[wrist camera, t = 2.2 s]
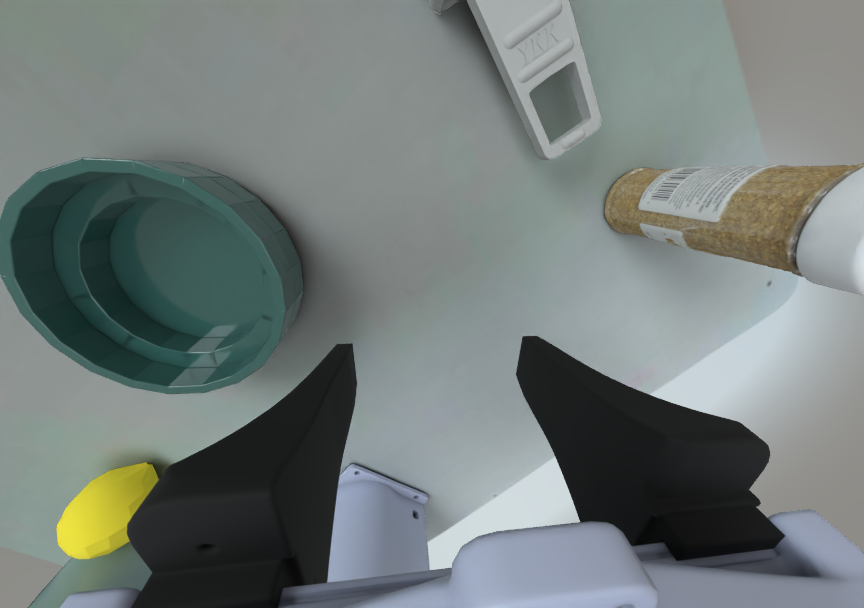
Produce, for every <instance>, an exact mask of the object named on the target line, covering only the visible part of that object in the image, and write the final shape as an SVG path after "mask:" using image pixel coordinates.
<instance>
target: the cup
mask: <svg viewBox="0 0 864 608" xmlns="http://www.w3.org/2000/svg"><path fill="white" fill-rule="evenodd" d="M151 574H152V572H151V570H150V569H149V568H148V566H147V565H146V564H145V562H144V561H143V560H142V558H141V557H140V556H139V554H138V553H137V552H136V550H135V549H134V548H133V546H132V544H131V542H128V543H126V544H124V545H123V546H121V547H119V548H118V549H116V550H114V551H113V552H111V553H109V554H106V555H103V556H99V557H95V558H91V559H75V558H73V557H72V558H71V559H70V560H69V561H68V563H67V564H66V565H65V566H64V567H63V568H62V569H61V570H60V571H59V572H58V574H57V575H56V576H55V577H54V578H53V579H52V580H51V582H50V583H49V584H48V585H47V586H46V587H45V588H44V589H43V590H42V592H41V593H40V594H39V595H38V596H37V597H36V598H35V600H34V601H33V602H32V603H31V604H30V606H29V607H28V608H60V607H61V605H62V604H63V603H64V601H65V600H66V599H67V597H68V596H69V595H71V594H73V593H76V592H84V591H93V590H102V589H111V588H120V587H131V588H136V589H139V590H141V591H142V589H143V588H144V586H145V584H146V583H147V581H148V579H149V577H150V576H151Z"/></svg>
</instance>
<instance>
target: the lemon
mask: <svg viewBox="0 0 864 608" xmlns="http://www.w3.org/2000/svg"><path fill="white" fill-rule="evenodd" d="M158 480H159V478H158V476H157V474H156V471H155V469H154V467H153V465H152V463H150V462H145V463H140V464H135V465H130V466H126V467H121V468H117V469H112V470H110V471H108V472H106V473H104V474H103V475H101V476H99V477H97V478H96V479H94V480H92V481H91V482H90V483H89V484H88V485H87V486H86V487H85V488H84V489H83V490H82V491H81V492H80V493H79V494H78V495H77V496H76V497H75V498H74V499H73V501H72V502H71V503H70V504H69V505H68V506H67V507H66V509H65V511H64V513H63V515H62V517H61V519H60V521H59V523H58V525H57V527H56V528H57V538H58V545H59V546H60V547H61V548H62V550H63V551H64V552H65V553H66V554H67V555H69V556H71V557H73V558H75V559H91V558H95V557H99V556H103V555H106V554H109V553H111V552H113V551H114V550H116V549H118V548H119V547H121V546H123V545H124V544H126V543H128V542H130V540H129V538H128V536H127V524H128V522H129V521H130V519H131V518H132V516H133V515H134V513H135V512H136V511H137V509H138V508H139V506H140V505H141V504H142V502H143V501H144V500H145V498H146V497H147V495H148V494H149V493H150V491H151V490H152V488H153V487H154V486H155V484H156V483H157V482H158Z"/></svg>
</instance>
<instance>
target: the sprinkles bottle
mask: <svg viewBox="0 0 864 608" xmlns="http://www.w3.org/2000/svg"><path fill="white" fill-rule="evenodd" d="M605 216H606V219H607V221H608V223H609V224H610V226H611V227H612V228H613V229H614V230H616V231H618V232H620V233H624V234H635V235H639V236H644V237H648V238H650V239H653V240H656V241H660V242H664V243H668V244H673V245H677V246H681V247H685V248H689V249H693V250H697V251H702V252H706V253H710V254H714V255H719V256H725V257H733V258H736V259H740V260H744V261H748V262H753V263H756V264H760V265H766V266H768V267H772V268H777V269H782V270H784V271H790V272H792V273H793V274H796V275H799V276H801V277H805V278H806V279H807V280H808V281H810V282H813V283H815V284H819V285H823V286H827V287H830V288H834V289H838V290H842V291H847V292H851V293H855V294H860V295H864V164H858V165H852V166H846V165H839V166H794V167H793V166H787V165H758V166H716V167H685V168H676V169H660V170H655V169H652V168H637V169H634V170H631V171H630V172H628V173H626V174H624V175H623V176H622V177H621V178H619V179H618V181H617V182H616V183H615V184H614V185H613V187H612V188H611V190H610V192H609V194H608V196H607V199H606V204H605Z"/></svg>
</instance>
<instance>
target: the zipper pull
mask: <svg viewBox="0 0 864 608" xmlns="http://www.w3.org/2000/svg"><path fill="white" fill-rule="evenodd" d="M458 1H460V0H428V2H429V6H430V8H431V10H432V11H433V12H434V13H435V14H437V15H440V14H442V13H443V12H444V11H446V10H447V9H449V8H450V7H451V6H453V5H454V4H456V3H457V2H458ZM467 2H468V4H469V6H470V9H471V11H472V13H473V15H474V17H475V20H476V22H477V24H478V26H479V28H480V30H481V33H482V35H483V37H484V39H485V41H486V44H487V46H488V48H489V50H490V52H491V54H492V57H493V59H494V61H495V63H496V65H497V68H498V70H499V72H500V74H501V76H502V78H503V81H504V83H505V85H506V87H507V89H508V92H509V94H510V96H511V98H512V100H513V102H514V105H515V107H516V109H517V111H518V113H519V116H520V118H521V120H522V122H523V124H524V126H525V129H526V131H527V133H528V135H529V137H530V140H531V142H532V144H533V146H534V148H535V150H536V153H537V155H538V157H539V158H541V159H543V160H547V159H554V158H556V157H558V156H560V155H561V154H563V153H564V152H566V151H567V150H569V149H570V148H572V147H573V146H575V145H576V144H578V143H579V142H581V141H582V140H584V139H585V138H587V137H588V136H590V135H591V134H593V133H594V132H596V131H597V130H598V129H599V127H600V124H601V116H600V112H599V108H598V105H597V101H596V97H595V94H594V90H593V86H592V83H591V79H590V75H589V72H588V68H587V64H586V61H585V57H584V53H583V50H582V46H581V42H580V39H579V35H578V32H577V28H576V24H575V21H574V17H573V13H572V10H571V6H570V2H569V0H467ZM564 67H566V69H567V72H568V75H569V78H570V82H571V85H572V88H573V92H574V95H575V98H576V102H577V105H578V108H579V112H580V115H581V118H582V121H581V122H580V123H579V124H578V125H577V126H575V127H574V128H572V129H571V130H569V131H568V132H566V133H565V134H563V135H562V136H560V137H559V138H557V139H556V140H554V141H553V142H551V143H549V140H548V138H547V136H546V133H545V131H544V129H543V126H542V124H541V122H540V119H539V117H538V115H537V112H536V110H535V108H534V106H533V103H532V101H531V99H530V96H529V93H530V91H531V90H532V89H533V88H535V87H536V86H537V85H539V84H540V83H541V82H543V81H544V80H545V79H547V78H548V77H549V76H551V75H552V74H554V73H555V72H557V71H558V70H560V69H562V68H564Z"/></svg>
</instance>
